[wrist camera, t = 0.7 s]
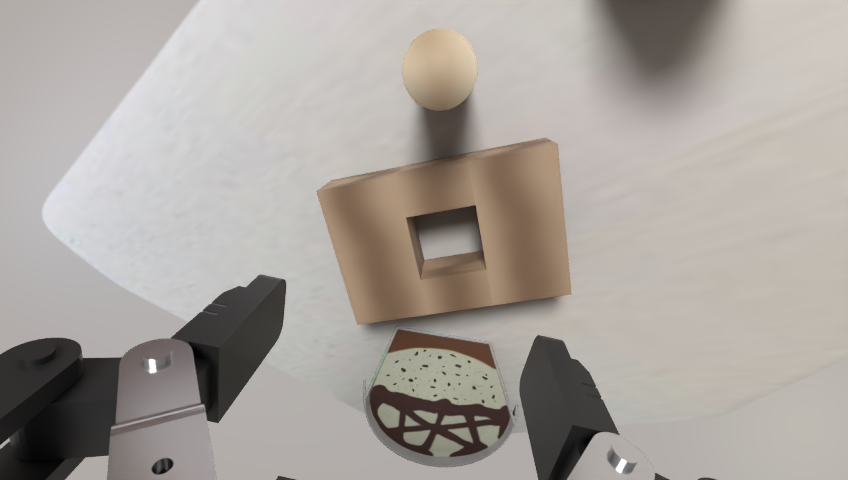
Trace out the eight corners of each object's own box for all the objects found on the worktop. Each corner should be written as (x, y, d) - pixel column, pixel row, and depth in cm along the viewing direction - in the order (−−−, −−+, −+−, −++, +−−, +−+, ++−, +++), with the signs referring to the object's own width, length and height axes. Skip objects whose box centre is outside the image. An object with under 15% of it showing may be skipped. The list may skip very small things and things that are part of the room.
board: (545, 137, 31) (557, 144, 27) (559, 272, 35) (571, 294, 31) (331, 180, 34) (316, 191, 30) (367, 301, 38) (357, 324, 34)
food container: (375, 374, 41) (351, 458, 31) (381, 323, 38) (357, 398, 29) (492, 393, 40) (504, 484, 31) (505, 344, 38) (522, 425, 29)
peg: (466, 42, 29) (471, 18, 20) (475, 99, 30) (484, 102, 21) (412, 55, 30) (393, 38, 20) (424, 110, 31) (410, 118, 22)
